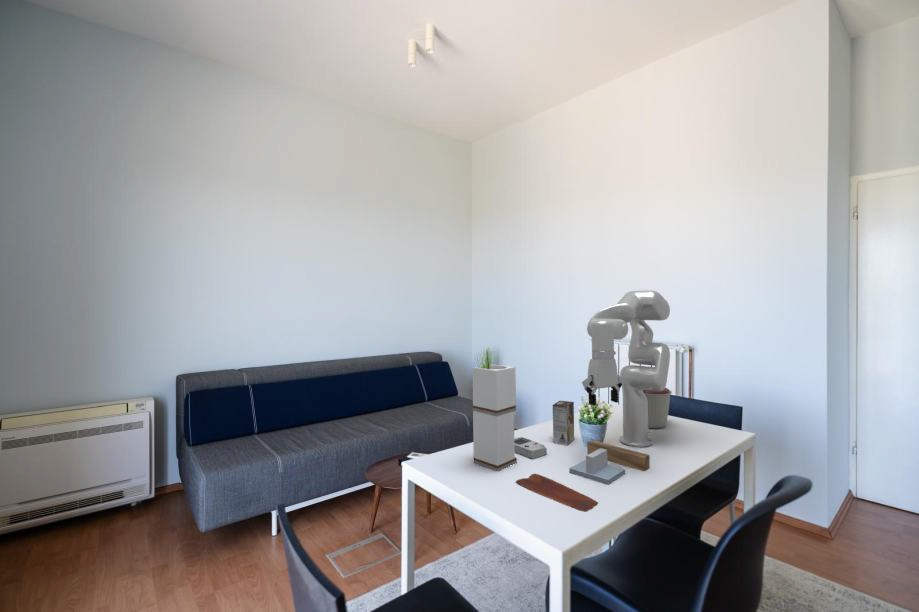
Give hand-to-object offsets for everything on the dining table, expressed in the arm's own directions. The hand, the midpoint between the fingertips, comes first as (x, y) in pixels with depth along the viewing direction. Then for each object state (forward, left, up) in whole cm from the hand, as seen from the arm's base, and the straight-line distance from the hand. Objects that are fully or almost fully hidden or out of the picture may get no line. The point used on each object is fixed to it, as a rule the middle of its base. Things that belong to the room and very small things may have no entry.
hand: (603, 403), depth 152 cm
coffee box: (-13, -25, -22) cm, 36 cm away
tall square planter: (+25, -30, -22) cm, 45 cm away
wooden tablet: (+30, -1, -23) cm, 38 cm away
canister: (-60, -8, -22) cm, 65 cm away
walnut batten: (-7, +1, -23) cm, 24 cm away
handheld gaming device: (+7, -29, -23) cm, 37 cm away
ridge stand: (+8, +1, -22) cm, 24 cm away
